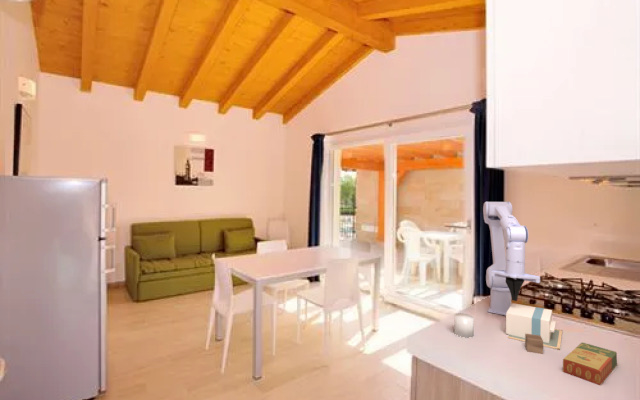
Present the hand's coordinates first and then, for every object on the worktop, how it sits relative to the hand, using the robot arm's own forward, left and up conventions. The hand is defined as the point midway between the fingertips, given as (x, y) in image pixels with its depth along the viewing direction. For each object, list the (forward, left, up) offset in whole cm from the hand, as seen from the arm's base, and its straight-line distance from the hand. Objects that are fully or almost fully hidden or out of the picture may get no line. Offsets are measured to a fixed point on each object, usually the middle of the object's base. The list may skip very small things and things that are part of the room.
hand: (514, 299), depth 118 cm
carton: (+16, +20, -11) cm, 28 cm away
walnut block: (+13, +7, -10) cm, 18 cm away
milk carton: (0, -2, -7) cm, 7 cm away
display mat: (0, +6, -10) cm, 12 cm away
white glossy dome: (+14, -13, -10) cm, 22 cm away
